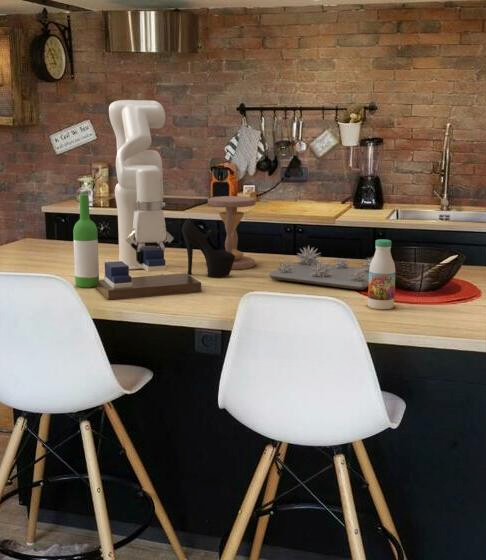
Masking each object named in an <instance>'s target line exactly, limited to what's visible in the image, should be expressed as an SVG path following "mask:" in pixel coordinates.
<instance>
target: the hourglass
mask: <svg viewBox="0 0 486 560" xmlns="http://www.w3.org/2000/svg"><path fill="white" fill-rule="evenodd" d="M207 205H208V206H210V207H216V208H225V211H219V212H218V214H219V218H220V219H221V220H222V222H223V223H224V229H225V232H226V237H225V241H224V247H225V249H224V250H226V251H228V252H230V253H232V254H234V256H235V259H234V263H233V265H232V268H231V271H235V270H246V269H247V270H248V269H251V268H254V267H255V266H256V260H255V258H253V257H250V256H245V255H244V252H242V251H240V250H238V241H239V236H238V232H237V227H238V226H239V224H240V222H241V220H242V219H243V218H244V215H245V212H244V211H238V208H248V207H253V206H255V205H256V199H255V197H251V196H239V195H224V196H223V195H222V196H221V195H220V196H211V197H208V198H207Z"/></svg>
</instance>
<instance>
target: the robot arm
mask: <svg viewBox="0 0 486 560" xmlns="http://www.w3.org/2000/svg"><path fill="white" fill-rule="evenodd" d="M108 115H109V116H108V117H109V122H110V124H111V127H112V130H113V132H114V135H115V140H116V156H115V170H116V178H117V182H118V183H116V185H115V187H114V197H115V203H116V209H117V210H116V211H117V228H118V229H117V230H118V233H117V234H118V261H122V262H123V263H125V264H126V265H128V266H129V270H143V268H142V267H140V266H139V265H137V261H138V263H139V264H142V252H141V248H142V246H146V244H150V243H151V244H152V243H156V244H157V247H158V248H160V249H162V255H163V259H164V260H165V250H166V248H167V247H168V246H169V245H170V244H171V242H172V241H173V240H174V236H172V235H171V234H170V233H169V232H168V231H167V227H166V226H167V225H166V220H165V214H164V211H163V210H162V209H163V208H165V207H166V203H165V202H163V201H164V173H163V160H162V157H161V154H160V152H159V151H158V150H155V149H154V150H153V149H149V148H150V147H151V145H152V135H151V130H150V129H162V128H163V127H164V126H165V123H166V112H165V109H164V106H163V105H162V104H161V103H160V102H159V101H157V100H146V99H145V100H144V99H143V100H141V99H140V100H139V99H138V100H136V99H122V100H121V99H120V100H115V101H113V102H111V103H110V104H109V107H108Z"/></svg>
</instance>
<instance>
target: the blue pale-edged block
mask: <svg viewBox="0 0 486 560" xmlns="http://www.w3.org/2000/svg"><path fill="white" fill-rule="evenodd" d="M141 252H142V264H139V263H138V261H137V265H139V266H140V267H142V268H143V269H144V270H145V271H147V272H149V273H150V272H162V271H167V269H168V268H167V267H168V265H166V259H165V258H164V259H163V255H162V249H160V248H159V246H157V245H145V246H142V248H141ZM143 269H142V270H143Z"/></svg>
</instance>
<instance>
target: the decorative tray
mask: <svg viewBox="0 0 486 560" xmlns="http://www.w3.org/2000/svg"><path fill="white" fill-rule="evenodd" d="M302 248H303V249H302ZM302 248H299V250H300V252H301V253H300V252H299V253H298V252H297V253H296V254H297V255H296V257H297V258H299V259H298V260H297V261H296V262H294V263H292V262H291V263H289V262H287V261H285V260H284V262H281V263H279V266H278V267H277V268H276V269H275V270H272V271H271V272H270V273H268V275H269V277H270V279H272V280H279V281H285V282H286V281H287V282H295V283H302V284H312V285H319V286H327V287H335V288H343V289H350V290H358V291H363V290H365V289H368V283H369V268H370V264H371V261H372V259H373V257H367V258H364V260H365V262H362V264H361V266H363V267H356V266H349V264H350V263H349V261H347V259H346V258H343V257H341V258H340V259H336V261H334V264H330V263H329V262H327V263H326V261H322V259H318V258H320V257H321V252H318V253H316V252H317V250H318V249H315V250H314V248H315V246H314V247H311V249H310V246H307V247H306V246H304V247H302Z"/></svg>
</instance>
